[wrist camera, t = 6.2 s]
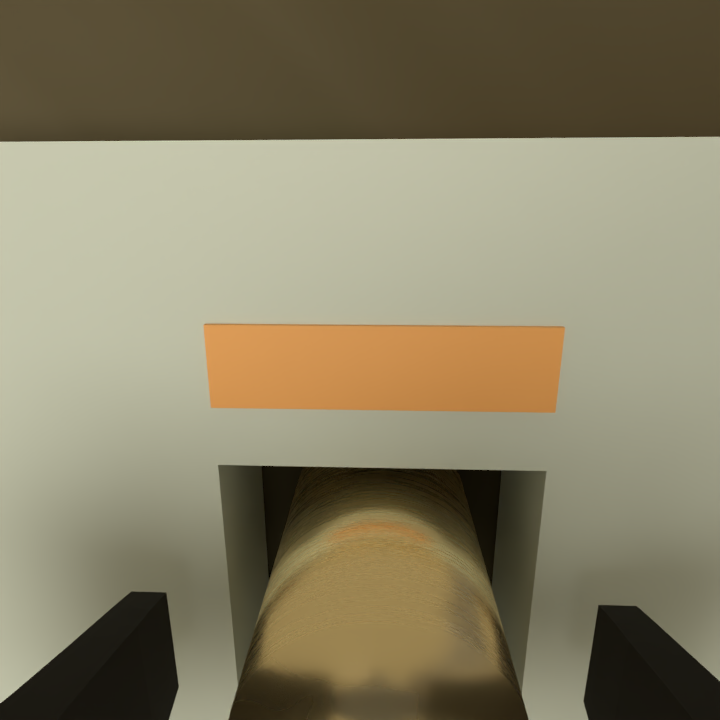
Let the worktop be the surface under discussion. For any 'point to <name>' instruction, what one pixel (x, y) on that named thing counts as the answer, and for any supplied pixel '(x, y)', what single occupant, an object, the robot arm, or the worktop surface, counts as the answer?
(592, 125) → the worktop surface
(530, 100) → the worktop surface
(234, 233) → the plate
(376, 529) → the cylinder
